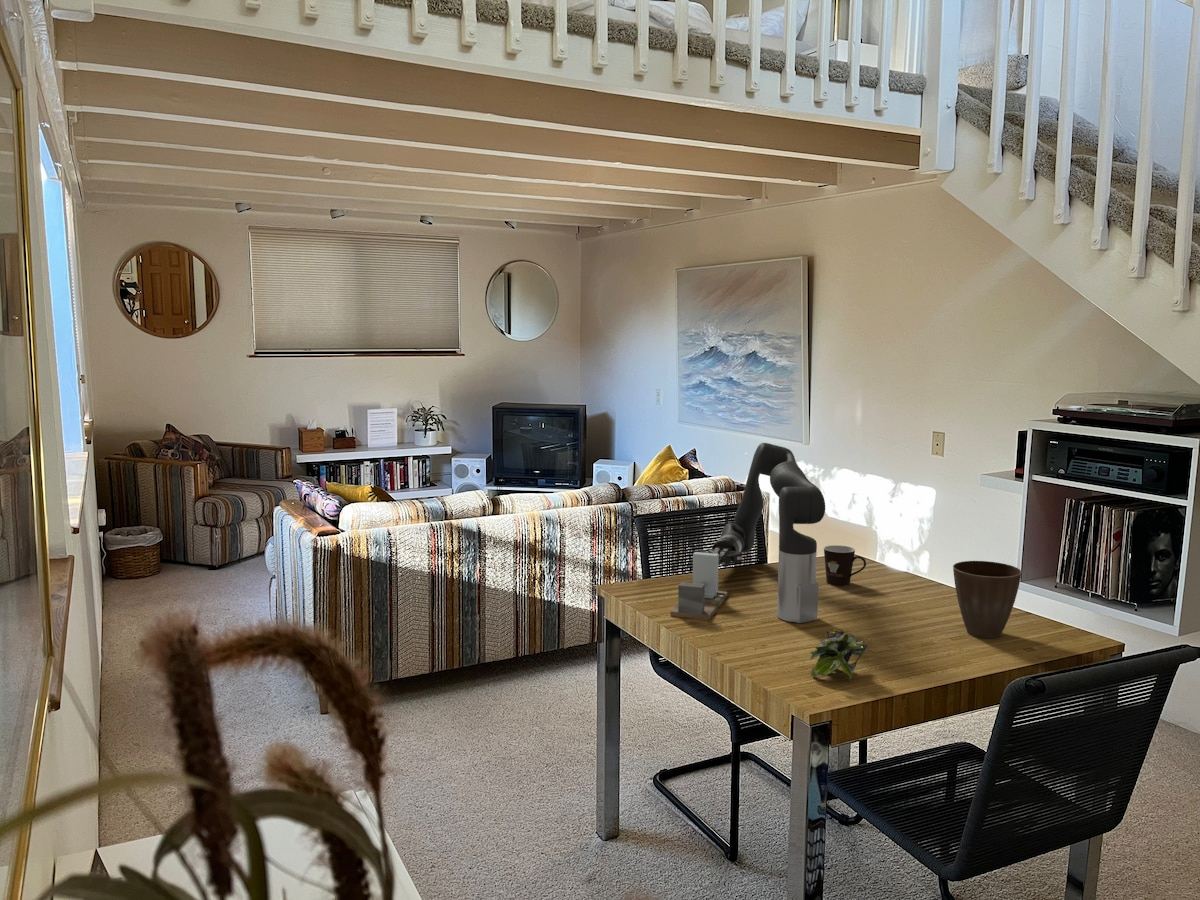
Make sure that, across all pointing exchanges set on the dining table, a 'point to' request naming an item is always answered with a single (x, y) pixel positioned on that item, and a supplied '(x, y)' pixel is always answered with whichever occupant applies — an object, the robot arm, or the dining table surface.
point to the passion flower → (837, 653)
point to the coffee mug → (840, 564)
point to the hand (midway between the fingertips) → (714, 562)
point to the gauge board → (706, 608)
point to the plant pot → (986, 595)
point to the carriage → (706, 572)
